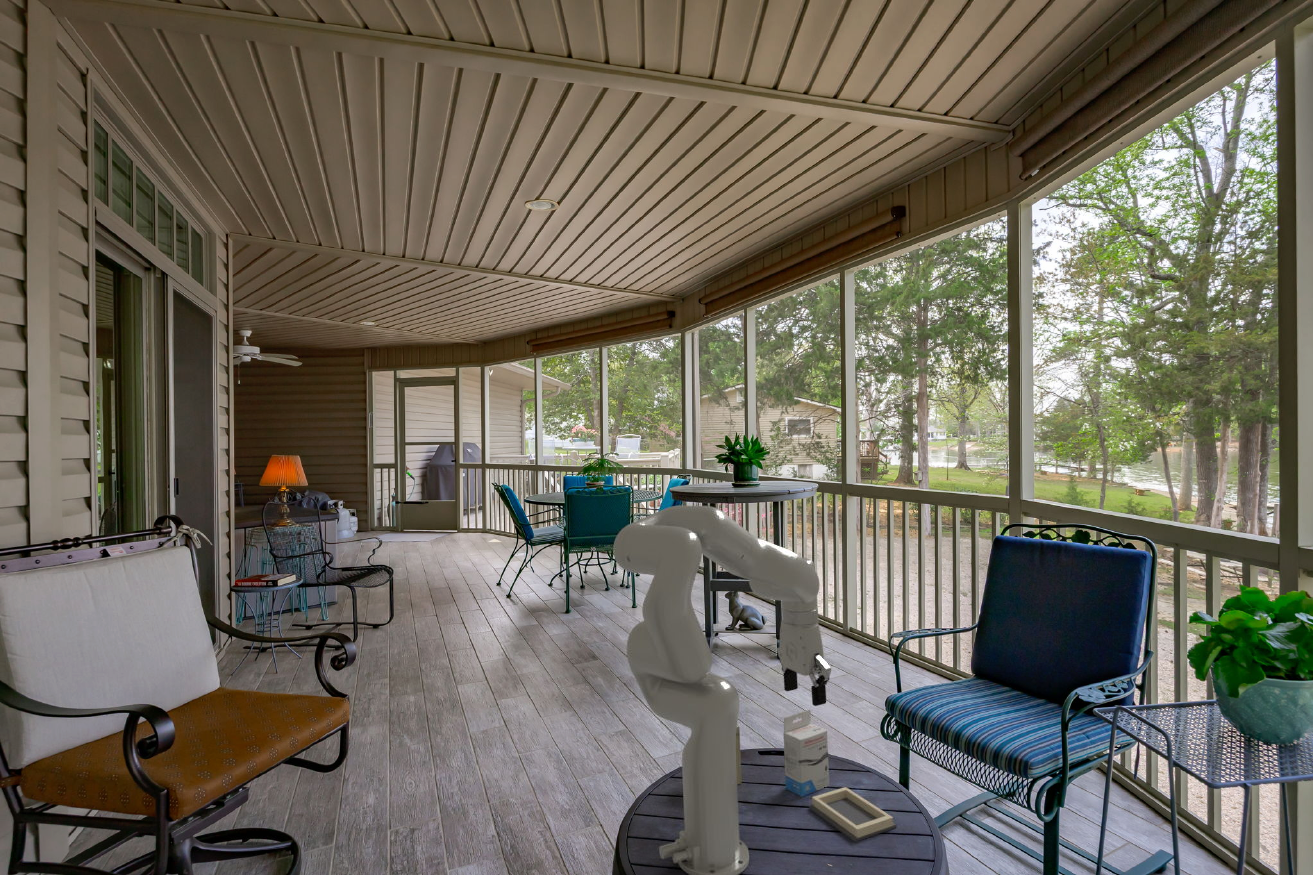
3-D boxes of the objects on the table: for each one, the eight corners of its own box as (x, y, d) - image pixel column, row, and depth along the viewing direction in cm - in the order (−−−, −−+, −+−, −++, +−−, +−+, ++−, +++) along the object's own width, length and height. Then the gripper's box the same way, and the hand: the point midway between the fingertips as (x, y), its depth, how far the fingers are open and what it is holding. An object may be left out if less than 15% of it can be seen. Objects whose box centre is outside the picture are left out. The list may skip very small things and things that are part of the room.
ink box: (802, 798, 131) (798, 725, 132) (784, 788, 135) (781, 717, 136) (830, 785, 136) (827, 715, 137) (813, 776, 140) (809, 708, 141)
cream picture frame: (854, 841, 115) (854, 830, 115) (809, 808, 127) (808, 797, 127) (896, 827, 119) (896, 816, 119) (849, 796, 131) (848, 786, 131)
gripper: (762, 611, 144) (767, 688, 143) (811, 627, 128) (816, 714, 127) (790, 606, 147) (794, 681, 146) (840, 622, 131) (846, 706, 131)
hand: (804, 696), depth 137 cm, fingers open, 9 cm apart
